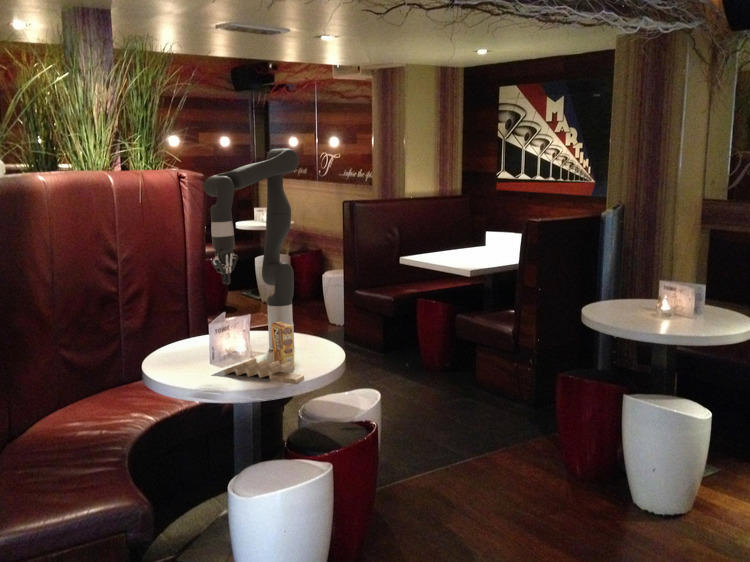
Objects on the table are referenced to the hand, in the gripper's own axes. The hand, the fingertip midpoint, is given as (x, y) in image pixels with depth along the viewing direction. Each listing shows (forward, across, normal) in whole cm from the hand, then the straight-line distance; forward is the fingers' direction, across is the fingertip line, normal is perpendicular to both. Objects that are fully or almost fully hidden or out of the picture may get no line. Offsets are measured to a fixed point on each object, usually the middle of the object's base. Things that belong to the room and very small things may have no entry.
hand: (226, 283), depth 250 cm
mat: (+28, -13, -15) cm, 34 cm away
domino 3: (+27, -13, -17) cm, 34 cm away
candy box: (+29, 0, -21) cm, 36 cm away
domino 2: (+27, -13, -12) cm, 32 cm away
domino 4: (+27, -13, -21) cm, 36 cm away
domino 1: (+27, -13, -8) cm, 31 cm away
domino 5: (+27, -12, -25) cm, 39 cm away
